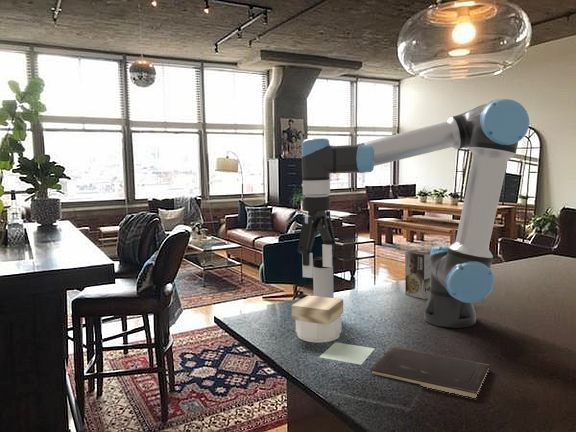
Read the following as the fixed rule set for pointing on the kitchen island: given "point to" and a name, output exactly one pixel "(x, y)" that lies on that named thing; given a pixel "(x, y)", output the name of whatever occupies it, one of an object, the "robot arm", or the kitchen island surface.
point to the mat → (347, 353)
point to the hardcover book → (433, 371)
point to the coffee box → (417, 273)
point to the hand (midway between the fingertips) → (318, 271)
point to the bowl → (318, 331)
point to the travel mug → (322, 278)
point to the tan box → (317, 309)
